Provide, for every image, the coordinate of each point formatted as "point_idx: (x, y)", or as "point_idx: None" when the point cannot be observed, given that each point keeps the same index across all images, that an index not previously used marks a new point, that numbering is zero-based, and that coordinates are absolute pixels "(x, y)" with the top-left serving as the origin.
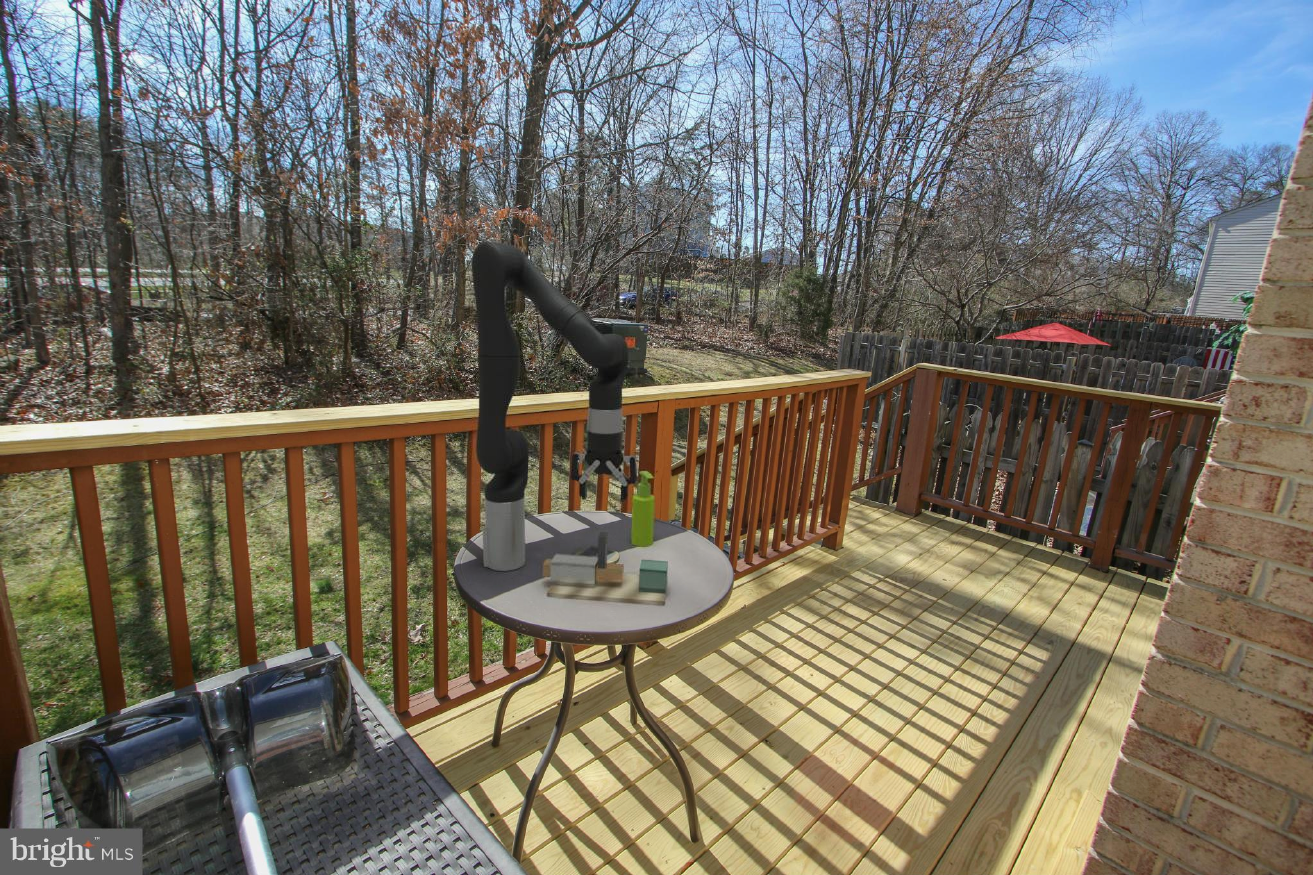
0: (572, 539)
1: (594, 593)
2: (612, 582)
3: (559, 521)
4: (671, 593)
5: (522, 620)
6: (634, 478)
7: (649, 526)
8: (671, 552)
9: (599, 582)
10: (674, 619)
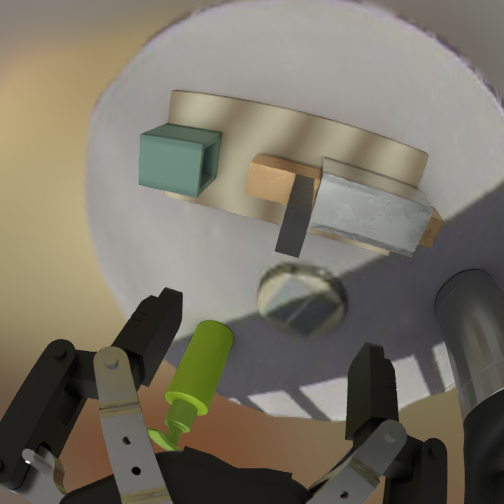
0: (335, 360)
1: (325, 132)
2: None
3: (343, 404)
4: None
5: (471, 70)
6: (43, 363)
7: (190, 348)
8: None
9: None
10: (161, 40)
